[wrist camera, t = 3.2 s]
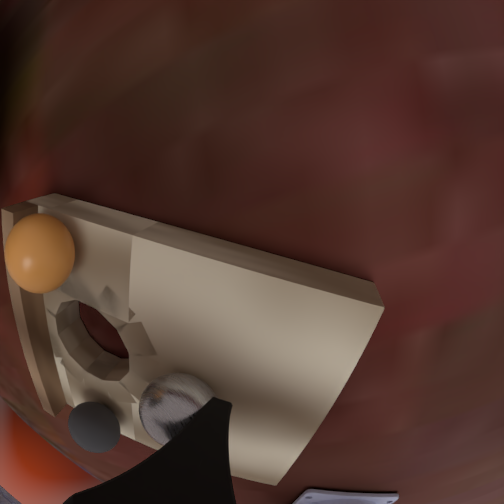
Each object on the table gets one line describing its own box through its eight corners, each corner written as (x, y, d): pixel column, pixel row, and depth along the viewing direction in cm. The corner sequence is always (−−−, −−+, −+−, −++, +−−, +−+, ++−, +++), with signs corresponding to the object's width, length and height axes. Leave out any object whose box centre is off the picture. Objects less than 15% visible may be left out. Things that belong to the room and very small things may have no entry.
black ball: (131, 434, 14) (108, 470, 11) (89, 413, 15) (65, 444, 12) (127, 406, 13) (100, 445, 10) (82, 382, 13) (52, 416, 11)
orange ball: (90, 285, 11) (42, 319, 8) (43, 263, 11) (-3, 290, 8) (91, 214, 10) (32, 237, 7) (42, 199, 10) (-12, 216, 7)
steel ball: (229, 437, 11) (176, 477, 9) (177, 396, 13) (124, 425, 10) (245, 390, 10) (183, 435, 8) (184, 346, 12) (120, 374, 9)
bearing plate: (280, 460, 15) (272, 505, 12) (71, 379, 17) (43, 409, 14) (373, 282, 11) (394, 332, 8) (54, 193, 12) (1, 208, 9)
